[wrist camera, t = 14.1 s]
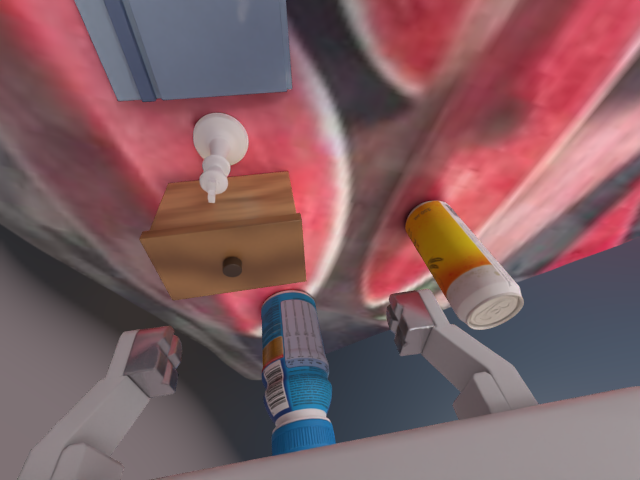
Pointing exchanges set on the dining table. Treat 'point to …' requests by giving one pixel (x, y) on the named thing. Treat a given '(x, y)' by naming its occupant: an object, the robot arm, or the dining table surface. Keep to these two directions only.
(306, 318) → the beverage bottle
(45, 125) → the dining table surface
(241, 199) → the bread box
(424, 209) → the yellow cylinder
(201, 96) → the grey flat slab
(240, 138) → the chess piece
